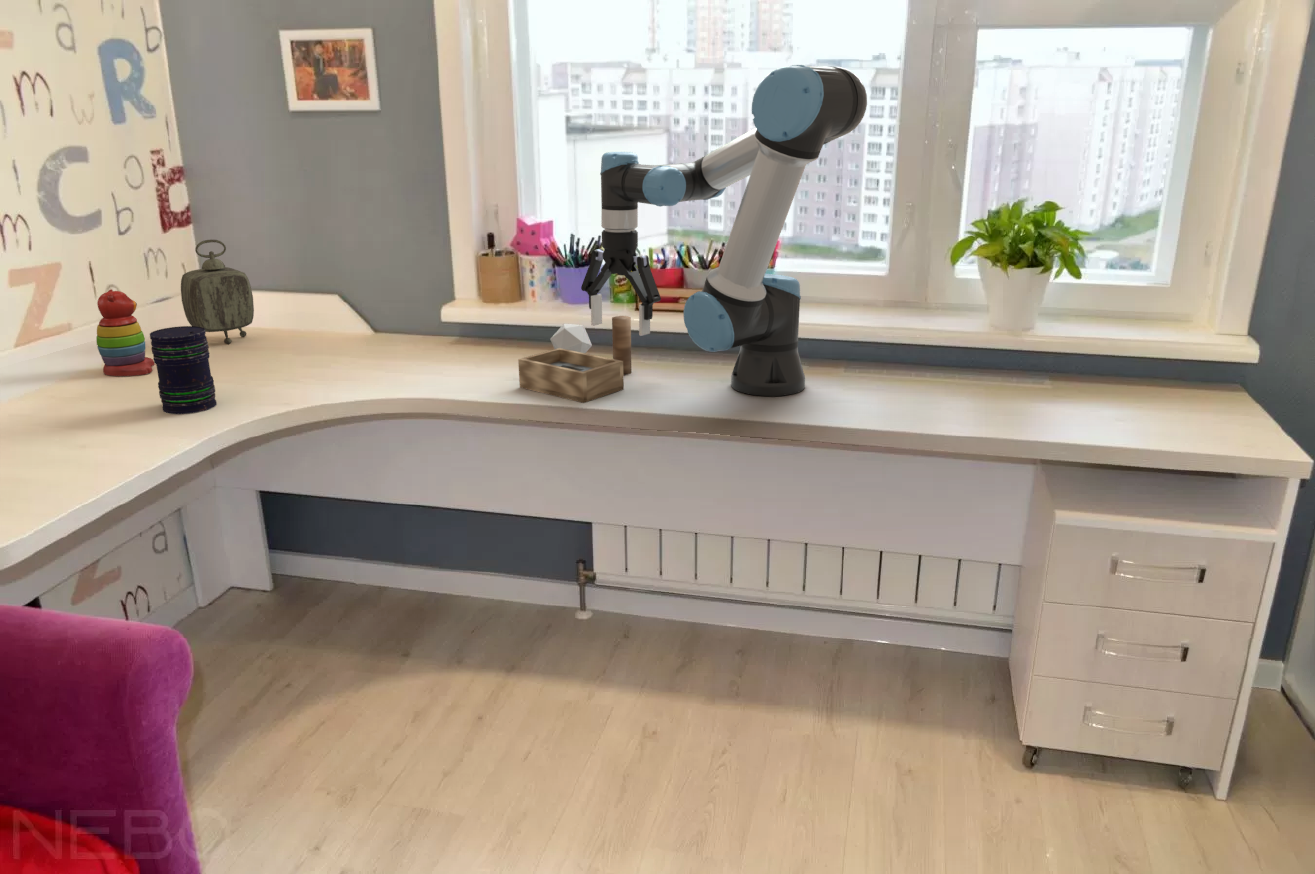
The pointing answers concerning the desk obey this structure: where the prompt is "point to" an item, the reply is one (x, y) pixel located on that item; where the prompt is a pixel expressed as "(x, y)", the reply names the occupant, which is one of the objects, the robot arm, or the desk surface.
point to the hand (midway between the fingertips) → (620, 329)
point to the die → (571, 338)
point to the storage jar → (183, 369)
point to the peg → (622, 341)
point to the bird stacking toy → (121, 337)
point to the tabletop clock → (217, 296)
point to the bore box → (571, 374)
